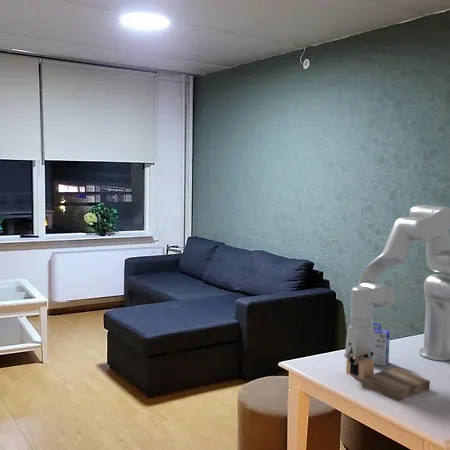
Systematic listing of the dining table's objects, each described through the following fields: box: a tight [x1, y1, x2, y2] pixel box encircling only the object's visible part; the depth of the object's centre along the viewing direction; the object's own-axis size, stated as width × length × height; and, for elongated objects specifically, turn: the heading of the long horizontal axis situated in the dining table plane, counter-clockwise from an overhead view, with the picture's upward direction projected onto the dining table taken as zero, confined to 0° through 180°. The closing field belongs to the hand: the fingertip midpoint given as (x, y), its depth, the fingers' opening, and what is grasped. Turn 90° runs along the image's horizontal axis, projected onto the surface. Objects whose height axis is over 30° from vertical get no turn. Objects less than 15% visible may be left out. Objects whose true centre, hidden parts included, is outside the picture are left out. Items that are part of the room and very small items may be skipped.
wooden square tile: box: [362, 367, 431, 401], centre depth 180 cm, size 16×14×3 cm
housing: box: [345, 355, 375, 381], centre depth 191 cm, size 5×8×7 cm, turn 33°
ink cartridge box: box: [371, 322, 391, 367], centre depth 203 cm, size 10×6×14 cm, turn 62°
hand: (359, 372), depth 191 cm, fingers closed on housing, 5 cm apart
